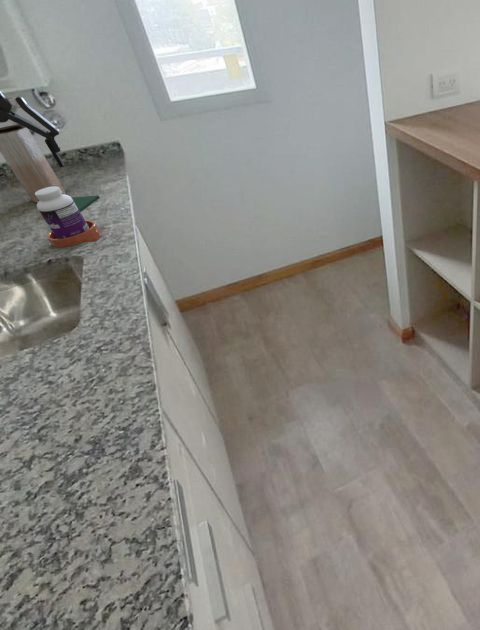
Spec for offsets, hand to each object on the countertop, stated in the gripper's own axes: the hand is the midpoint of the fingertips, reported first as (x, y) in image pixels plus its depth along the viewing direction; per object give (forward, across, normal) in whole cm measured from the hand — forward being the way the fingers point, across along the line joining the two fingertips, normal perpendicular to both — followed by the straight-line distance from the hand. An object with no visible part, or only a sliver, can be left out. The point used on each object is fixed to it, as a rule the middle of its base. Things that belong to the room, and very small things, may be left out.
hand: (31, 172), depth 110 cm
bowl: (+20, 0, +1) cm, 20 cm away
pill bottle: (+20, 0, +1) cm, 20 cm away
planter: (+20, -9, +48) cm, 53 cm away
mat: (+20, -2, +32) cm, 38 cm away
